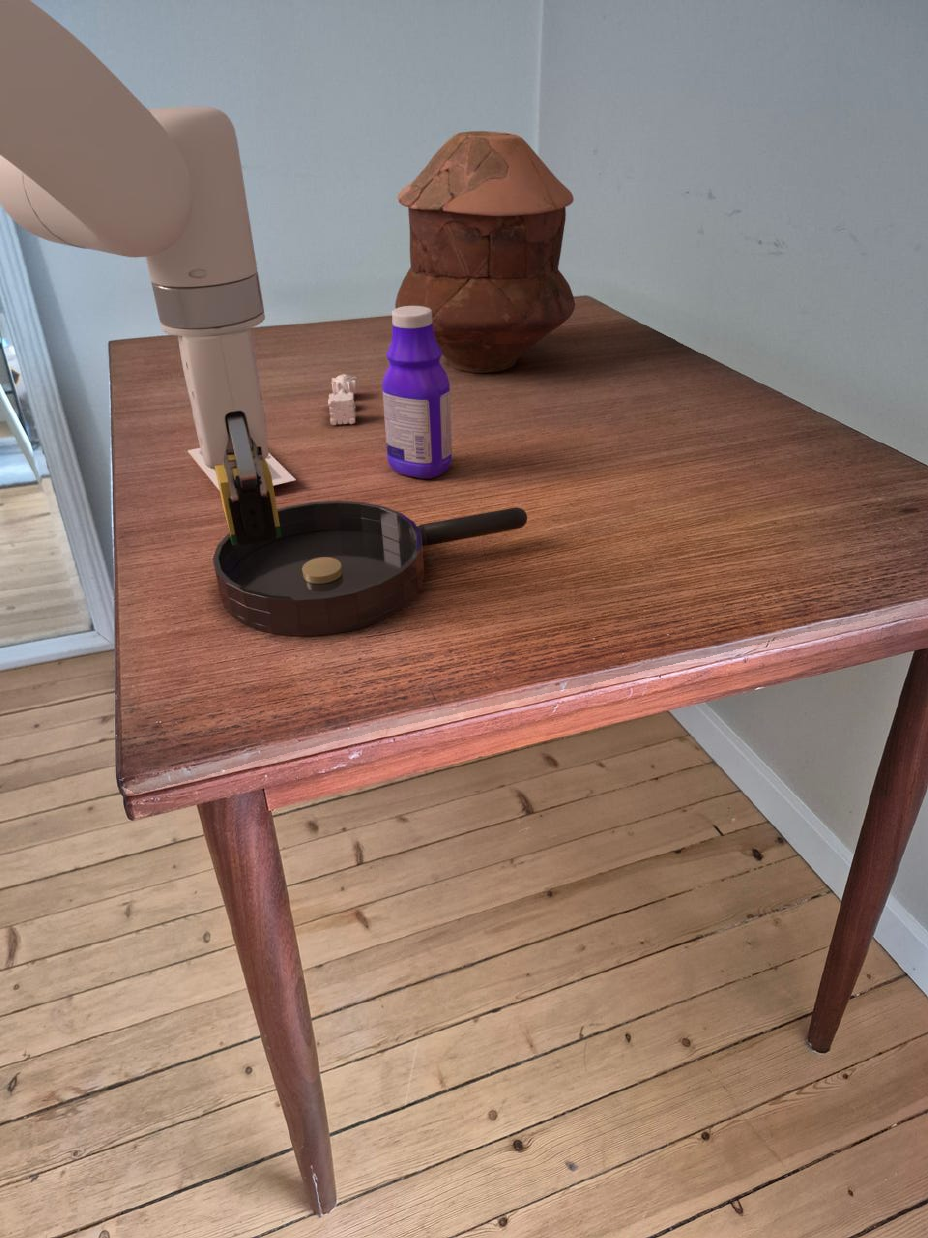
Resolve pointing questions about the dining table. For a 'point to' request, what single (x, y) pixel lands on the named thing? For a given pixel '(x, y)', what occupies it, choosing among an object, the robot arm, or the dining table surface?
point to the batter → (322, 570)
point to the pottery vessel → (487, 249)
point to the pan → (348, 531)
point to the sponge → (226, 494)
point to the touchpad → (275, 467)
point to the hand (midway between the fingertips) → (251, 522)
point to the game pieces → (342, 400)
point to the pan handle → (472, 526)
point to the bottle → (416, 397)
